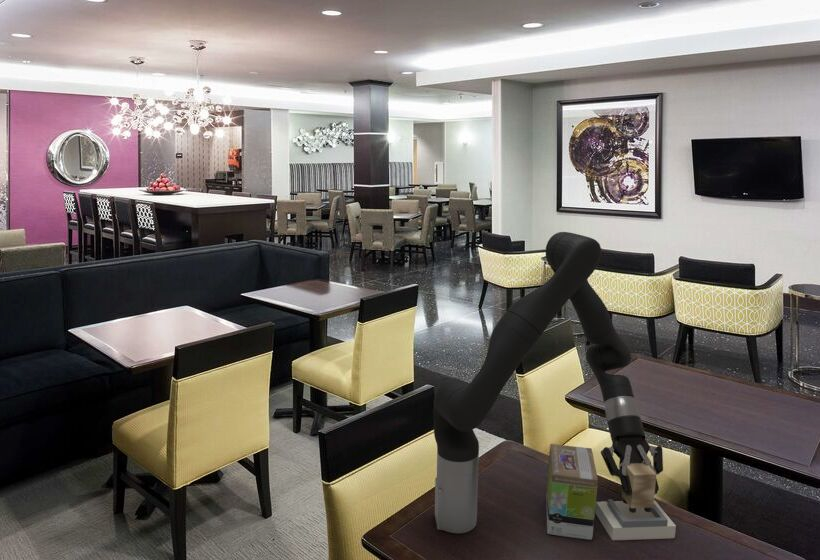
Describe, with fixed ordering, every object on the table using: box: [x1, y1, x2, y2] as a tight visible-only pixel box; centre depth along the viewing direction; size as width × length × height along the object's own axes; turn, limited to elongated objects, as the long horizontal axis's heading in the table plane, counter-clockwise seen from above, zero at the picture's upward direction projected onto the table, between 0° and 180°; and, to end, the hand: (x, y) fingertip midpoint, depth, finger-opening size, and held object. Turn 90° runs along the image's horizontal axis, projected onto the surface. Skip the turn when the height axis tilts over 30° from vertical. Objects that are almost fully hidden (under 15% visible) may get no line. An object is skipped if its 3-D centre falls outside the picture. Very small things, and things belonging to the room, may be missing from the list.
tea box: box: [545, 443, 599, 541], centre depth 136 cm, size 15×10×15 cm
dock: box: [595, 498, 677, 541], centre depth 134 cm, size 14×10×4 cm
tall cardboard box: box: [621, 463, 657, 513], centre depth 132 cm, size 5×5×9 cm
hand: (642, 494), depth 131 cm, fingers closed on tall cardboard box, 5 cm apart
